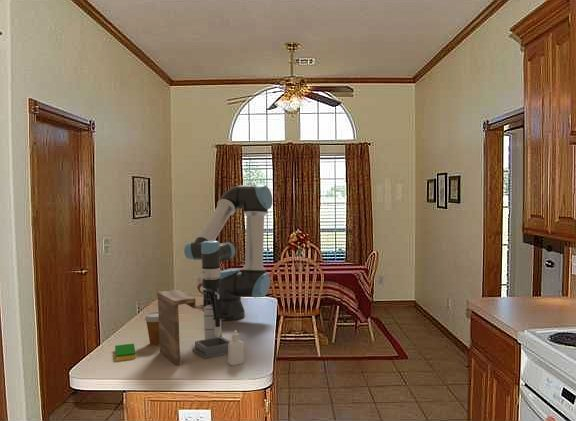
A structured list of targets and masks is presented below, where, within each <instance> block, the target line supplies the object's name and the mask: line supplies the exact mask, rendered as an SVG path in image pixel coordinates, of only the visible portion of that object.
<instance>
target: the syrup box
mask: <svg viewBox="0 0 576 421" xmlns="http://www.w3.org/2000/svg"><path fill="white" fill-rule="evenodd" d="M213 318H214V314H213V308H212V304H210V305H207V306H205V307H204V312H203V326H204V340H205V339H211V338H216V337H223V328H222V327H223V325H222V324H223V323H222V320H221V319H220V332H221V334H218V335H214V326H213Z"/></svg>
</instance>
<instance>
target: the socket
mask: <svg viewBox="0 0 576 421" xmlns="http://www.w3.org/2000/svg"><path fill="white" fill-rule="evenodd" d="M230 342H231V341H230V340H228V339H227V338H225V337H223V336H222V337H216V338H211V339H205V338H204V339H200V340H195V341H194V346H193V347H192V349H191V350H192V352H195V353H196V354H197V355H199V356H201V357H202V358H203V359H210V358H211V359H212V358H216V357H220V356H226V355H228V344H229V343H230Z"/></svg>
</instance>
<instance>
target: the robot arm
mask: <svg viewBox="0 0 576 421" xmlns="http://www.w3.org/2000/svg"><path fill="white" fill-rule="evenodd" d="M272 205H273V195H272V191H271V190H270V188H269V186H267V185H265V184H248V185H247V184H245V185H243V184H241V185H240V184H239V185H236V186H233V187H231V188H230V189H228V190H227V191H226V192H225V193H224V194H222V196H221V197H220V198H219V199H218V201H217V202H216V207H215V209H214V211H213V213H212V214H211V216H210V217H209V218H208V219H207V222H206V223H205V225H204V226H203V228H202V229H201V231H200V232H199V234H198V235H197V237H196V239H195V240H194V242H192V241H191V242H187V243H186V244H185V245H184V249H183V254H184V255H185V258H186V259H188V260H194V261H196V260H200V261H201V272H200V273H201V276H202V281H201V282H202V283H203V286H202V288H203V290H202V292H203V294H202V295H203V296H202V297H203V300H202V306H203V308H202V312H203V313H204V307H205V306H207V305H210V304H212V308H213V314H214V318H213V326H214V335H218V334H221V332H220V319H221V321H232V320H233V321H235V320H239V319H242V318H244V317H245V316H246V312H245V308H244V305H243V303H242V297H244V298H245V297H247V298H253V299H255V298H256V299H257V298H263V297H265V296H266V295H267V294H268V291H269V290H270V286H271V278H270V274H269V273H268V272H267V268H265V267H264V239H265V238H264V237H265V236H264V235H265V234H264V232H265V216H266V215H267V214H268V210H269V209H271V208H272ZM238 210H243V214H244V215H245V216H246V222H245V253H244V254H245V258H244V261H245V262H244V266H243V267H242V268H241V269H240V268H231V269H224V270H221V262H224V261H228V260H231V259H232V258H234V257H235V254H236V248H235V245H234V244H232V243H231V242H229V241H228V242H221V243H220V242H219V241H218V240H216V239H217V238H218V236H219V234H220V233H221V231H222V229H223V228H224V226H225V224H226V223H227V222H228V220H229V218H230V216H232V215H234V214H235V212H237V211H238ZM205 289H206V290H205Z"/></svg>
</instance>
